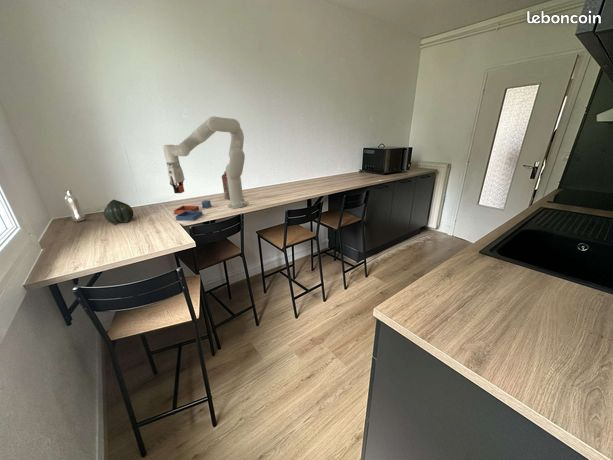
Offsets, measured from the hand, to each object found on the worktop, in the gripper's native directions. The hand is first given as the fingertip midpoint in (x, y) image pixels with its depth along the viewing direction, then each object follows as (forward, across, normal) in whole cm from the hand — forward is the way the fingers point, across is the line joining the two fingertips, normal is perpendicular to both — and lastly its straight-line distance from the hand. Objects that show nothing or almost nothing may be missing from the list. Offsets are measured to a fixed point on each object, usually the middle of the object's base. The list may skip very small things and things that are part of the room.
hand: (179, 191), depth 170 cm
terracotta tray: (+15, +3, 0) cm, 15 cm away
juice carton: (+15, +39, -18) cm, 46 cm away
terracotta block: (0, 0, 0) cm, 0 cm away
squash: (+15, -20, +31) cm, 40 cm away
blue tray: (+15, -9, -9) cm, 20 cm away
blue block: (+15, +14, -10) cm, 23 cm away
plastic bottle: (+15, -21, +60) cm, 65 cm away
